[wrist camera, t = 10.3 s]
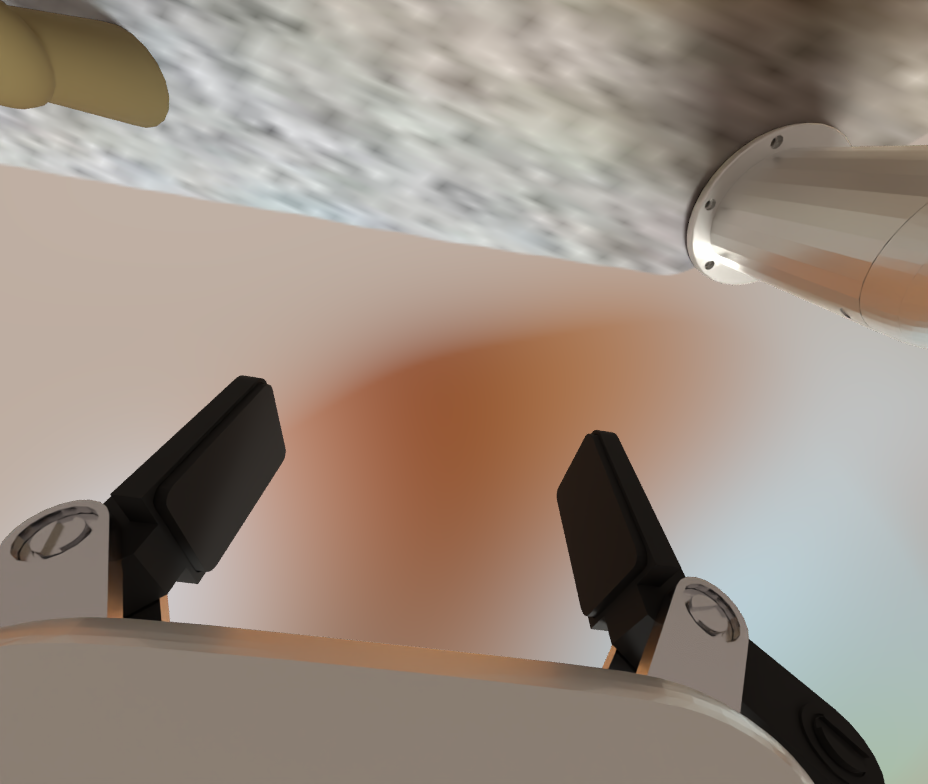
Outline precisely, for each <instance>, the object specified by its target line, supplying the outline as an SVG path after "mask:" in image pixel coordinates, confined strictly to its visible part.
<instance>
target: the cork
mask: <svg viewBox="0 0 928 784" xmlns="http://www.w3.org/2000/svg"><path fill="white" fill-rule="evenodd" d="M47 102H49V103H53V104H57V105H61V106H64V107H68V108H72V109H76V110H79V111H83V112H87V113H91V114H95V115H98V116H102V117H106V118H110V119H113V120H117V121H121V122H125V123H128V124H132V125H136V126H140V127H145V128H148V127H155V126H157V125H159V124H160V123H161V122H163V121H164V120H165V117H166V115H167V113H168V110H169V94H168V90H167V85H166V81H165V79H164V77H163V74H162V72H161V70H160V68H159V66H158V64H157V62H156V61H155V60H154V58H153V57H152V55H151V54H150V52H149V51H148V50H147V48H146V47H145V46H144V45H143V44H142V43H141V42H140V41H139V40H138V39H137V38H136V37H135V36H134V35H132V34H131V33H129V32H128V31H126V30H125V29H123V28H121V27H120V26H118V25H115V24H112V23H108V22H104V21H99V20H93V19H87V18H81V17H75V16H69V15H63V14H57V13H51V12H45V11H39V10H33V9H27V8H21V7H15V6H9V5H6V4H5V3H4V2H3V1H1V0H0V105H2V106H6V107H10V108H16V109H29V108H35V107H39V106H43V105H45V104H46V103H47Z"/></svg>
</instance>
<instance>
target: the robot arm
mask: <svg viewBox="0 0 928 784" xmlns="http://www.w3.org/2000/svg"><path fill="white" fill-rule="evenodd" d="M706 203H707V204H706ZM705 204H706V206H705ZM687 249H688V253H689V257H690V259H691V261H692V263H693V265H694V266H695V268H696V269H697V270H698V271H699V272H700V273H701V274H702V275H704V276H706V277H708V278H709V279H711V280H713V281H716V282H718V283H721V284H728V285H744V284H749V283H754V282H758V281H762V282H764V283H766V284H769V285H771V286H774V287H776V288H778V289H780V290H782V291H785V292H787V293H789V294H791V295H794V296H796V297H798V298H801V299H803V300H805V301H807V302H810V303H812V304H814V305H817V306H819V307H821V308H823V309H826V310H828V311H830V312H833V313H835V314H837V315H840V316H842V317H844V318H846V319H849V320H851V321H853V322H855V323H858V324H860V325H862V326H865V327H867V328H869V329H871V330H874V331H876V332H879V333H881V334H884V335H886V336H888V337H891V338H893V339H895V340H898V341H900V342H903V343H906V344H909V345H912V346H916V347H921V348H924V349H928V145H911V146H860V147H852V146H851V144H850V142H849V141H848V139H847V138H846V136H845V135H844V134H842V133H841V132H840V131H839V130H837V129H836V128H834V127H831V126H828V125H825V124H822V123H801V124H792V125H788V126H784V127H781V128H777V129H774V130H772V131H769V132H767V133H765V134H763V135H761V136H759V137H757V138H755V139H754V140H752V141H751V142H749V143H748V144H746V145H745V146H743V147H742V148H740V149H739V150H738V151H737V152H736V153H735V154H733V155H732V156H731V157H730V158H729V159H728V160H726V161H725V163H724V164H723V165H722V166H721V167H720V168H719V169H718V170H717V171H716V173H715V174H714V175H713V176H712V177H711V179H710V180H709V182H708V183H707V185H706V186H705V187H704V189H703V190H702V192H701V194H700V196H699V198H698V200H697V202H696V204H695V206H694V208H693V211H692V214H691V217H690V220H689V225H688V231H687ZM285 453H286V449H285V445H284V440H283V435H282V431H281V426H280V422H279V417H278V413H277V408H276V403H275V398H274V394H273V390H272V387H271V385H268V384H267V383H266V381H265V380H264V379H262V378H256V377H250V376H239V377H237V378H236V379H235V380H234V381H233V382H231V384H229V385H228V386H227V387H226V388H225V389H224V390H223V391H222V392H221V393H220V394H218V395H217V396H216V397H215V398H214V399H213V400H212V401H211V402H210V403H209V404H208V405H207V406H206V407H204V408H203V409H202V410H201V411H200V412H199V413H198V414H197V415H196V416H195V417H194V418H192V420H190V421H189V422H188V423H187V424H186V425H185V426H184V427H183V428H182V429H180V430H179V431H178V432H177V433H176V434H175V435H174V436H173V437H172V438H171V439H170V440H169V441H167V442H166V443H165V444H164V445H163V446H162V447H161V448H160V449H159V450H158V451H157V452H156V453H155V454H153V455H152V456H151V457H150V458H149V459H148V460H147V461H146V462H145V463H144V464H143V465H141V466H140V467H139V468H138V469H137V470H136V471H135V472H134V473H133V474H132V475H131V476H129V477H128V478H127V479H126V480H125V481H124V482H123V483H122V484H121V485H120V486H119V487H118V488H117V489H115V490H114V491H113V492H112V493H111V497H110V498H109V499H108V500H107V501H106V502H105V503H104V504H102V503H101V502H97V501H93V500H77V501H72V502H67V503H63V504H59V505H57V506H54V507H51V508H49V509H46V510H44V511H42V512H40V513H38V514H37V515H34V516H33V517H31V518H29V519H27V520H26V521H24V522H23V523H22V524H20V525H19V526H18V527H16V528H15V529H14V530H13V531H12V532H11V533H10V534H9V535H8V536H7V537H6V538H5V539H4V540H3V541H2V543H1V545H0V784H885V783H884V778H883V774H882V771H881V769H880V767H879V765H878V763H877V761H876V758H875V756H874V755H873V753H872V752H871V750H870V749H869V747H868V746H867V744H866V743H865V741H864V739H863V738H862V737H861V736H860V735H859V733H858V732H857V731H856V730H855V729H854V727H853V726H852V725H851V724H850V723H849V722H848V721H847V720H846V719H845V718H844V717H843V716H841V714H839V713H838V712H837V711H836V710H835V709H834V708H833V707H831V706H830V705H829V704H828V703H827V702H825V701H824V700H823V699H822V698H820V697H819V696H818V695H817V694H816V693H814V692H813V691H812V690H811V689H809V688H808V687H807V686H806V685H805V684H803V683H802V682H801V681H800V680H798V679H797V678H796V677H795V676H794V675H792V674H791V673H790V672H789V671H787V670H786V669H785V668H784V667H782V666H781V665H780V664H779V663H777V662H776V661H775V660H774V659H773V658H772V657H770V656H769V655H768V654H767V653H765V652H764V651H763V650H762V649H760V648H759V647H758V646H757V645H756V644H754V643H753V642H752V641H751V640H750V639H749V636H748V628H747V626H746V623H745V620H744V618H743V616H742V614H741V613H740V611H739V610H738V608H737V607H736V605H735V604H734V603H733V602H732V601H731V600H730V598H729V597H728V596H727V595H726V594H725V593H723V592H722V591H721V590H720V589H718V588H717V587H716V586H714V585H712V584H711V583H709V582H708V581H706V580H703V579H700V578H697V577H685V575H684V573H683V571H682V569H681V566H680V564H679V563H678V560H677V558H676V556H675V554H674V552H673V550H672V548H671V546H670V544H669V542H668V540H667V537H666V535H665V534H664V531H663V529H662V527H661V525H660V523H659V521H658V519H657V517H656V515H655V513H654V511H653V509H652V507H651V504H650V502H649V500H648V498H647V496H646V494H645V492H644V490H643V488H642V486H641V484H640V482H639V480H638V478H637V475H636V473H635V471H634V469H633V467H632V465H631V463H630V461H629V459H628V457H627V455H626V453H625V451H624V449H623V447H622V445H621V442H620V441H619V438H618V437H617V435H616V434H615V433H612V432H606V431H600V430H594V431H593V432H592V433H591V434H587V435H586V436H585V438H584V440H583V442H582V444H581V446H580V448H579V449H578V452H577V453H576V455H575V457H574V459H573V461H572V463H571V465H570V467H569V468H568V470H567V472H566V474H565V476H564V478H563V480H562V482H561V484H560V486H559V488H558V490H557V502H558V507H559V511H560V516H561V520H562V524H563V529H564V534H565V538H566V543H567V547H568V552H569V556H570V561H571V565H572V570H573V574H574V579H575V583H576V588H577V592H578V597H579V601H580V606H581V610H582V612H583V614H584V615H585V616H588V618H589V623H590V627H591V629H596V630H604V631H609V636H610V639H611V643H612V646H611V649H610V651H609V653H608V655H607V658H606V660H605V662H604V665H603V667H602V668H596V667H588V666H580V665H573V664H565V663H557V662H548V661H539V660H531V659H522V658H513V657H503V656H495V655H486V654H477V653H468V652H459V651H450V650H440V649H432V648H422V647H413V646H404V645H394V644H385V643H376V642H366V641H356V640H348V639H338V638H329V637H319V636H310V635H300V634H290V633H280V632H270V631H261V630H251V629H241V628H230V627H221V626H212V625H201V624H189V623H177V622H170V617H169V606H168V596H167V594H168V592H169V591H170V589H171V588H172V587H173V585H174V584H175V582H176V581H177V582H185V583H195V584H198V583H199V582H200V580H201V578H202V577H203V575H204V574H205V572H209V571H211V570H212V569H214V568H215V566H216V565H217V564H218V562H219V561H220V559H221V557H222V556H223V554H224V553H225V551H226V550H227V548H228V547H229V545H230V543H231V542H232V540H233V539H234V537H235V536H236V534H237V532H238V531H239V529H240V528H241V526H242V525H243V523H244V522H245V520H246V518H247V517H248V515H249V514H250V512H251V511H252V509H253V508H254V506H255V504H256V503H257V501H258V500H259V498H260V497H261V495H262V493H263V492H264V490H265V489H266V487H267V486H268V484H269V482H270V481H271V479H272V478H273V476H274V475H275V473H276V471H277V470H278V468H279V467H280V465H281V464H282V462H283V460H284V458H285Z"/></svg>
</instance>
